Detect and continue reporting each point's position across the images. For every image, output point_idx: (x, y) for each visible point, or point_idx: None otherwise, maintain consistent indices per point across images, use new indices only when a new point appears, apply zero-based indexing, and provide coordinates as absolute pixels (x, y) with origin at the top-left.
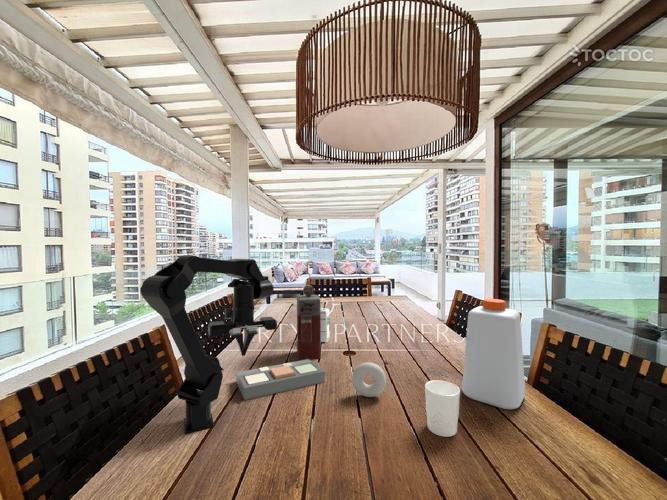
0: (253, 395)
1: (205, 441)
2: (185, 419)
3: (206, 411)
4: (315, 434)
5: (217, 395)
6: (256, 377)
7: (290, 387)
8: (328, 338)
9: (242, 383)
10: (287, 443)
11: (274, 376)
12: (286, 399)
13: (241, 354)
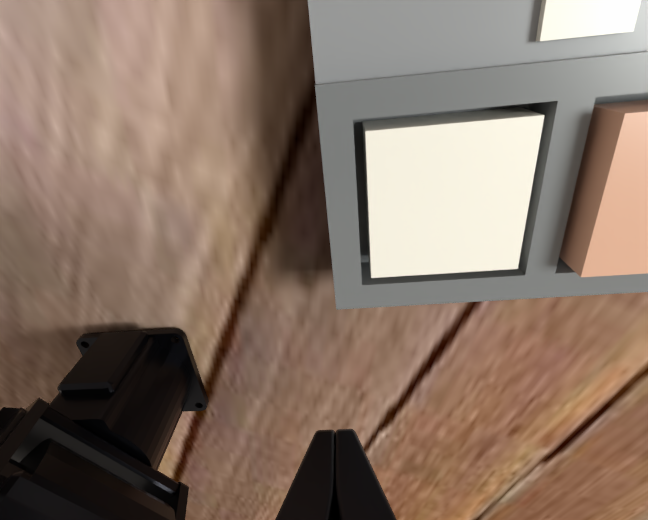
0: None
1: (196, 449)
2: (86, 349)
3: (161, 458)
4: (503, 511)
5: (183, 500)
6: (449, 191)
7: None
8: None
9: (332, 244)
10: (416, 514)
11: (578, 238)
12: (531, 331)
13: (314, 439)
